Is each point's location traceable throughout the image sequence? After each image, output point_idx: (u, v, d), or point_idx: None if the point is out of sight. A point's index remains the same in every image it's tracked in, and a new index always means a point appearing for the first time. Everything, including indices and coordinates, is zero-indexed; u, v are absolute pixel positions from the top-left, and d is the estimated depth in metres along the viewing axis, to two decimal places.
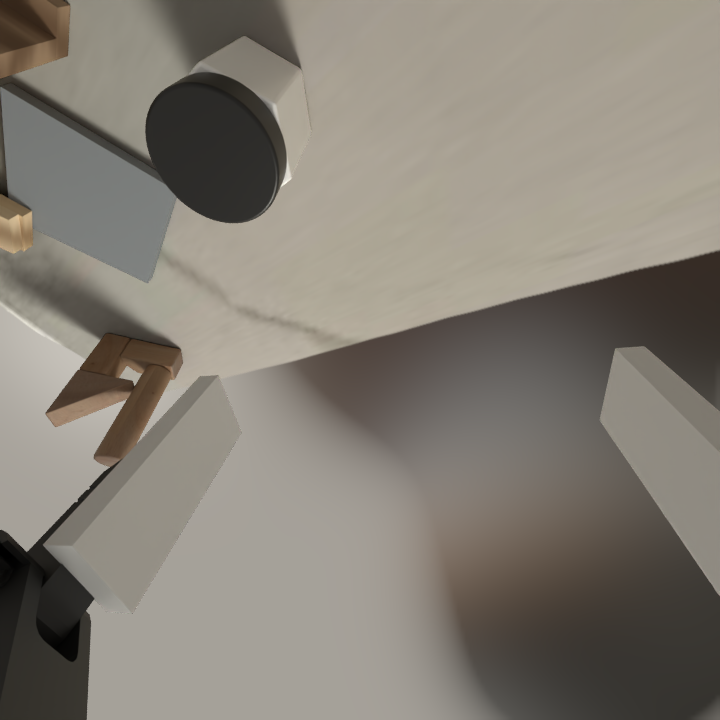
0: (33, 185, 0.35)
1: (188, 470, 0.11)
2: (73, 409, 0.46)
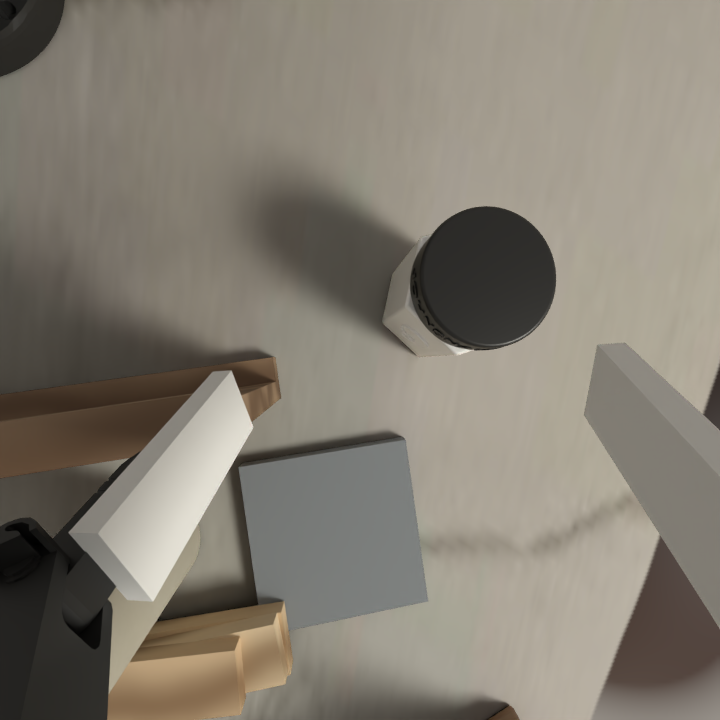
0: (280, 561, 0.30)
1: (204, 463, 0.11)
2: None
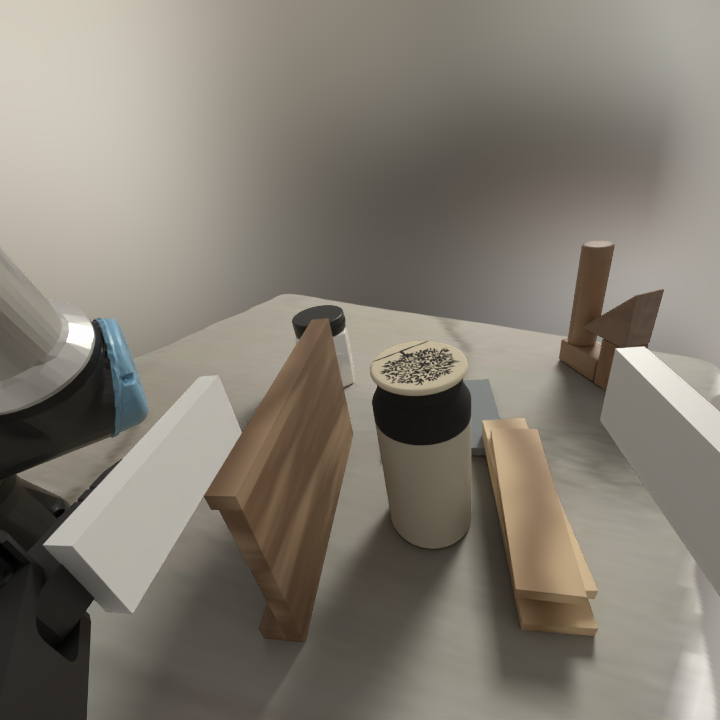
0: None
1: (188, 470, 0.11)
2: None
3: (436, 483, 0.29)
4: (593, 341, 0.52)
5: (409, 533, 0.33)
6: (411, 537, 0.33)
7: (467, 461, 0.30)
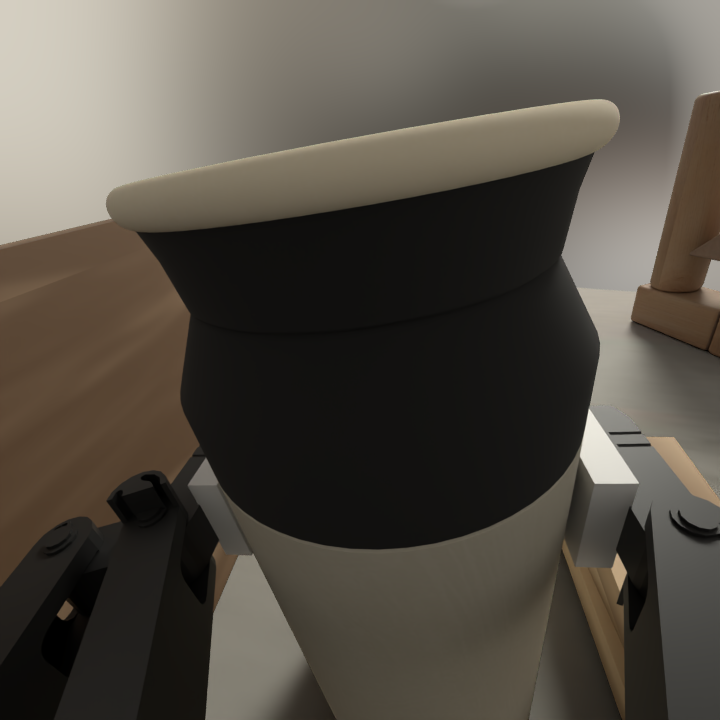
0: None
1: None
2: None
3: (443, 678, 0.07)
4: (701, 282, 0.30)
5: None
6: None
7: (556, 568, 0.08)
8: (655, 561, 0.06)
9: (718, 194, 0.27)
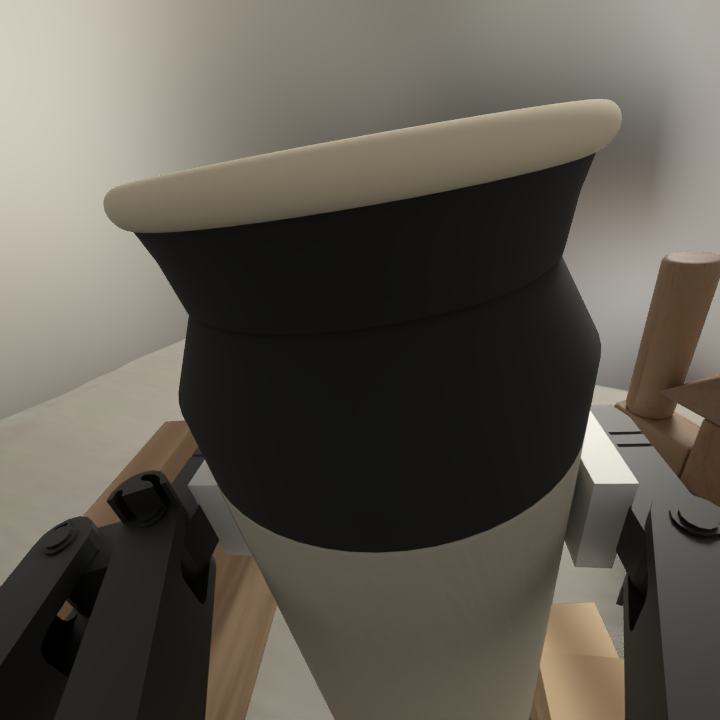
0: None
1: None
2: None
3: (443, 681, 0.07)
4: (672, 411, 0.32)
5: None
6: None
7: (557, 570, 0.08)
8: (655, 561, 0.06)
9: (685, 345, 0.29)
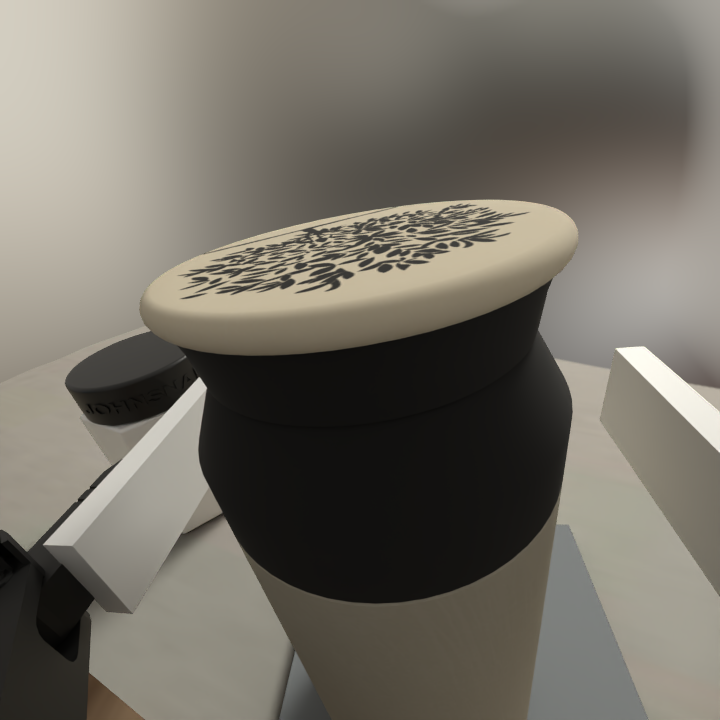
0: None
1: (188, 470, 0.11)
2: None
3: (437, 707, 0.08)
4: None
5: None
6: None
7: (542, 602, 0.09)
8: None
9: None
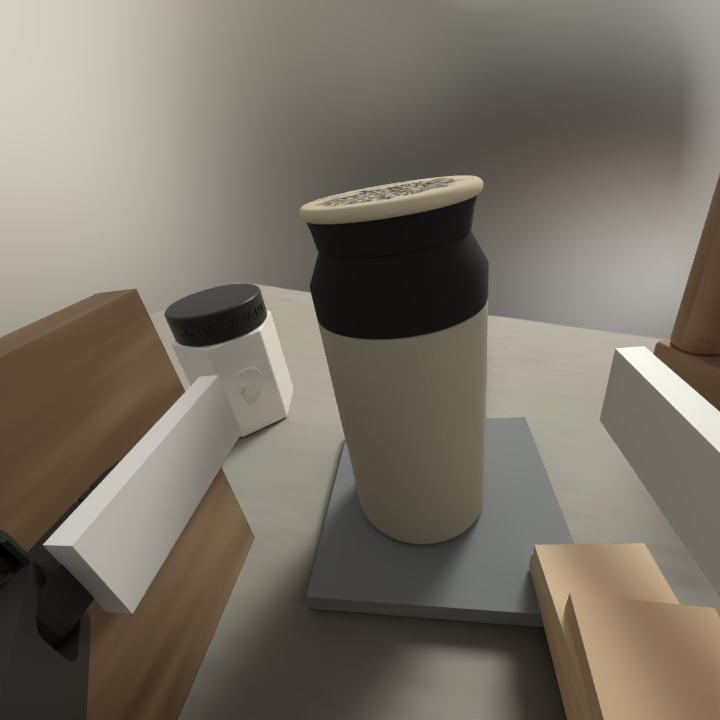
0: (463, 563, 0.19)
1: (188, 470, 0.11)
2: None
3: (425, 422, 0.16)
4: None
5: (383, 519, 0.20)
6: (387, 525, 0.20)
7: (480, 386, 0.17)
8: None
9: None
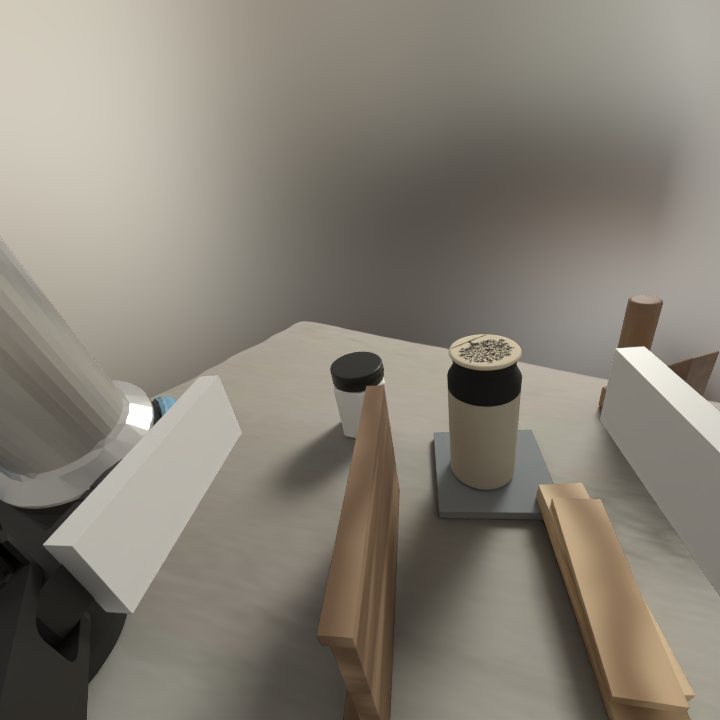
0: (507, 496, 0.44)
1: (188, 470, 0.11)
2: None
3: (496, 435, 0.40)
4: None
5: (470, 478, 0.44)
6: (471, 481, 0.45)
7: (517, 421, 0.41)
8: None
9: None
